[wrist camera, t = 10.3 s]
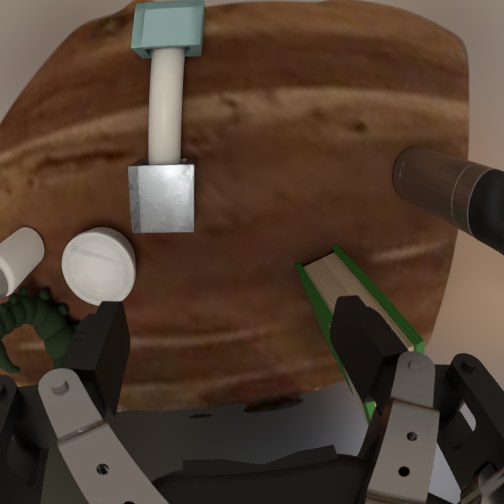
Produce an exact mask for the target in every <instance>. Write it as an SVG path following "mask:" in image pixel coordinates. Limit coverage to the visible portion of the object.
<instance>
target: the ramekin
mask: <svg viewBox="0 0 504 504" xmlns="http://www.w3.org/2000/svg"><path fill="white" fill-rule="evenodd" d="M135 261H136V260H135V254H134V251H133V248H132V246H131V244H130V243H129V241H128V240H127V239H126V237H124V236H123V235H122V234H121V233H120V232H117V231H116V230H113V229H111V228H105V227H98V228H94V229H91V230H89V231H86V232H83V233H81V234H79V235H77V236H76V237H74V238H73V239H72V240H71V241H70V242H69V243H68V245H67V246H66V248H65V250H64V253H63V257H62V270H63V274H64V277H65V280H66V282H67V284H68V285H69V287H70V288H71V290H72V291H73V292H74V293H75V294H76V295H77V296H78V297H80V298H81V299H82V300H84V301H86V302H88V303H91V304H94V305H100V303H101V302H102V301H122V300H123V299H124V298H125V297H126V296H127V295H128V294H129V293H130V291H131V289H132V287H133V285H134V282H135V276H136V269H135Z"/></svg>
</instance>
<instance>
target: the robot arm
mask: <svg viewBox="0 0 504 504" xmlns="http://www.w3.org/2000/svg"><path fill="white" fill-rule="evenodd" d="M393 183H394V187H395V189H396V191H397V193H398V194H399V196H400V197H401V198H403V199H404V200H406V201H408V202H410V203H412V204H414V205H416V206H418V207H420V208H422V209H424V210H426V211H427V212H429V213H431V214H433V215H435V216H437V217H439V218H441V219H442V220H444V221H446V222H448V223H450V224H451V225H453V226H455V227H457V228H458V229H460V230H462V231H464V232H466V233H467V234H469V235H471V236H473V237H474V238H476V239H477V240H479V241H481V242H483V243H484V244H486V245H488V246H490V247H491V248H493V249H495V250H496V251H498V252H499V253H501V254H503V255H504V172H503V171H500V170H497V169H494V168H491V167H488V166H485V165H482V164H478V163H475V162H471V161H468V160H465V159H461V158H458V157H454V156H451V155H447V154H443V153H439V152H435V151H431V150H427V149H423V148H418V147H412V148H409V149H407V150H405V151H403V152H402V153H401V155H400V156H399V157H398V159H397V160H396V163H395V165H394V170H393ZM330 341H331V344H332V346H333V348H334V349H335V351H336V353H337V355H338V357H339V359H340V361H341V363H342V365H343V367H344V368H345V370H346V372H347V374H348V376H349V378H350V380H351V382H352V384H353V386H354V388H355V390H356V392H357V394H358V396H359V397H360V399H361V401H362V403H363V404H364V403H369V402H373V401H374V402H375V403H376V407H375V409H374V411H373V414H372V417H371V420H370V423H369V427H368V430H367V433H366V435H365V438H364V441H363V444H362V447H361V449H360V451H359V454H358V455H357V456H352V455H346V454H337V453H336V451H335V448H334V445H330V446H325V447H320V448H315V449H310V450H304V451H298V452H296V453H293V454H291V455H288V456H285V457H283V458H280V459H277V460H275V461H272V462H269V463H266V464H251V463H243V462H236V461H228V460H222V459H216V460H183V469H182V470H178V471H174V472H171V473H168V474H166V475H163V476H161V477H159V478H157V479H156V480H154V481H152V482H150V481H149V480H148V479H147V478H146V476H145V475H144V474H143V473H142V471H141V470H140V469H139V468H138V466H137V465H136V464H135V462H134V461H133V460H132V458H131V457H130V456H129V454H128V453H127V452H126V450H125V449H124V447H123V446H122V445H121V443H120V442H119V440H118V439H117V437H116V436H115V434H114V433H113V431H112V430H111V428H110V427H109V425H108V424H107V422H106V421H105V420H104V418H110V419H115V415H116V411H117V406H118V401H119V396H120V391H121V386H122V382H123V377H124V373H125V369H126V364H127V360H128V356H129V352H130V335H129V330H128V325H127V320H126V315H125V310H124V305H123V303H122V301H102V302H101V303H100V305H99V308H98V310H97V312H96V314H89V315H88V316H86V317H85V318H84V319H83V320H82V321H81V322H80V324H79V326H78V328H77V330H76V333H75V334H74V336H73V338H72V341H71V342H70V344H69V347H68V349H67V351H66V353H65V355H64V358H63V360H62V362H61V364H60V367H59V369H55V370H52V371H50V372H48V373H46V374H45V375H44V376H43V377H42V378H41V380H40V382H39V384H38V385H32V386H23V387H18V386H17V385H16V383H15V381H14V380H13V379H12V378H11V377H9V376H6V375H0V504H40V502H41V493H42V487H43V481H44V475H45V468H46V463H47V458H48V453H49V448H50V447H59V449H60V451H61V454H62V456H63V458H64V460H65V462H66V464H67V466H68V467H69V469H70V471H71V473H72V475H73V477H74V479H75V480H76V482H77V484H78V486H79V487H80V489H81V491H82V492H83V494H84V496H85V498H86V499H87V501H88V502H89V504H453V503H451V502H448V501H446V500H444V499H442V498H440V497H437V496H435V495H433V494H431V493H429V492H428V489H429V484H430V479H431V474H432V469H433V462H434V456H435V450H436V442H437V443H438V445H439V447H440V449H441V451H442V453H443V455H444V457H445V459H446V461H447V463H448V465H449V467H450V469H451V471H452V473H453V475H454V477H455V479H456V481H457V483H458V485H459V487H460V489H461V494H460V501H459V502H458V503H457V504H504V391H503V390H502V389H501V387H500V386H499V385H498V383H497V382H496V381H495V379H494V378H493V377H492V376H491V375H490V373H489V372H488V371H487V369H486V368H485V367H484V366H483V364H482V363H481V362H480V361H479V360H478V359H477V358H475V357H474V356H472V355H469V354H465V353H461V354H457V355H456V356H455V357H454V358H453V360H452V362H451V364H450V365H435V364H434V363H433V361H432V360H431V359H430V358H429V357H428V356H426V355H424V354H422V353H420V352H416V351H409V350H408V348H407V347H406V346H405V345H404V343H403V342H402V341H401V339H400V338H399V337H398V336H397V334H396V333H395V332H394V331H393V330H392V329H391V327H390V325H389V324H388V323H386V320H385V319H384V318H383V317H382V315H381V314H380V313H379V312H377V311H376V310H374V309H373V308H371V307H367V306H366V305H365V303H364V302H363V301H362V300H361V298H360V297H359V296H358V295H352V296H339V297H338V298H337V300H336V304H335V309H334V313H333V318H332V322H331V326H330ZM464 403H466V405H467V407H468V408H469V410H470V411H471V413H472V414H473V416H474V417H475V420H476V427H475V430H474V431H472V429H471V428H470V426H469V425H468V423H467V421H466V420H465V418H464V416H463V415H462V413H461V412H460V409H461V407H462V406H463V404H464Z"/></svg>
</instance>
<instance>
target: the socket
mask: <svg viewBox="0 0 504 504" xmlns="http://www.w3.org/2000/svg"><path fill="white" fill-rule="evenodd" d="M203 27H204V0H184V1H163V2H150V3H140V4H136V10H135V17H134V25H133V34H132V43H131V49H132V50H133V51H134V52H135V53H136V54H138V55H139V56H140V57H141V58H142V59H146V58H152V50H153V48H169V47H185V57H191V56H201V52H202V39H203Z"/></svg>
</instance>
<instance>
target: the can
mask: <svg viewBox="0 0 504 504" xmlns="http://www.w3.org/2000/svg"><path fill="white" fill-rule="evenodd" d="M43 256H44V244H43V241H42V239H41V237H40V235H39V234H38V233H37V232H36V231H35V230H33V229H31V228H28V227H23V228H21V229H19V230H17V231H16V232H15V233H13V234H12V235H11V236H9V237H8V238H7V239H6V240H4V241H3V242H2V243H0V299H2V298H4V297H5V296H8V295H10V294H11V293H12V292H13V291H14V290H15V289H16V288H17V287H18V286H19V284H20V283H21V282H22V281H23V280H24V279H25V278H26V277H27V275H28V274H29V273H30V272H31V271H32V270H33V269H34V268H35V267H36V266H37V265H38V263H39V262H40V261H41V260H42V258H43Z"/></svg>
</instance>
